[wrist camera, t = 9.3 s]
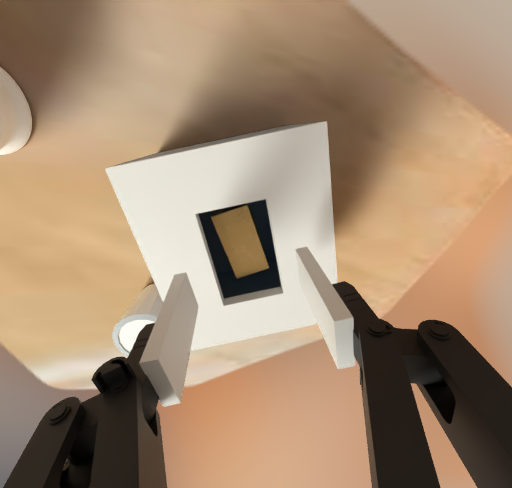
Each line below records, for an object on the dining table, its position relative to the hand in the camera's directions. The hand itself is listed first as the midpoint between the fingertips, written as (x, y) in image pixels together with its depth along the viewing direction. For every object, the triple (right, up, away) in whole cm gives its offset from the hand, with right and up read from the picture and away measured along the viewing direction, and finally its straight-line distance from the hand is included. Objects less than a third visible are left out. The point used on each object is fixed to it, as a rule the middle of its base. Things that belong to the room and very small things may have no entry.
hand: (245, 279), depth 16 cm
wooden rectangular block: (-1, +6, +13) cm, 14 cm away
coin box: (-1, +6, +14) cm, 15 cm away
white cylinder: (-12, -5, +18) cm, 22 cm away
